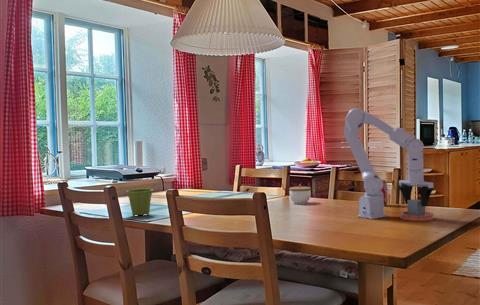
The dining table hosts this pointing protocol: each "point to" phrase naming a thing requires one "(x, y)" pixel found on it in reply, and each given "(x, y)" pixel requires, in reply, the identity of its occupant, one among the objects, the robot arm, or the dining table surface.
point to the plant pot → (140, 200)
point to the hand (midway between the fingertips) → (415, 205)
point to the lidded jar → (300, 194)
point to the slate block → (415, 207)
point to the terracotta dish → (416, 216)
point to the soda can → (384, 191)
